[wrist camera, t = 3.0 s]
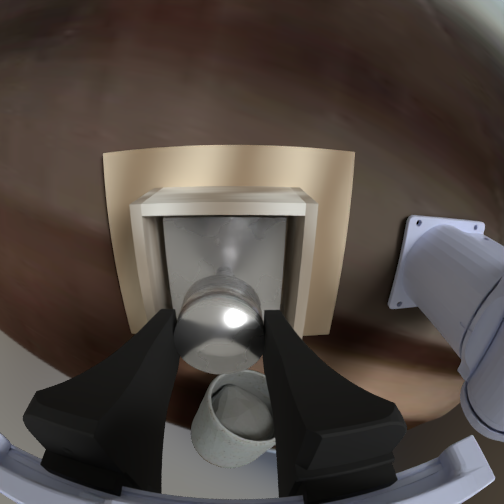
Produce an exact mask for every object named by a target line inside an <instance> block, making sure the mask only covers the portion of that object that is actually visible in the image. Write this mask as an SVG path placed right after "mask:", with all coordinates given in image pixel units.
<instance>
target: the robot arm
mask: <svg viewBox="0 0 504 504" xmlns="http://www.w3.org/2000/svg"><path fill="white" fill-rule="evenodd" d="M418 220H419V223H418V224H417V225H416V223H417V221H418ZM474 226H475V227H474ZM484 229H485V224H484V223H483V222H480V221H471V220H462V219H452V218H441V217H430V216H417V215H411V216H409V217H408V219H407V221H406V227H405V232H404V238H403V243H402V248H401V252H400V257H399V261H398V266H397V270H396V274H395V278H394V282H393V286H392V290H391V293H390V297H389V301H388V306H389V308H390V309H400V308H410V307H419V309H420V310H421V311H422V312H423V313H424V314H425V316H426V317H427V318H428V319H429V320H430V321H431V323H432V324H433V325H434V326H435V327H436V329H437V330H438V331H439V332H440V333H441V335H442V336H443V337H444V338H445V339H446V341H447V342H448V343H449V344H450V346H451V347H452V348H453V349H454V351H455V352H456V353H457V355H458V356H459V357H460V358H461V364H460V366H459V368H458V372H459V373H460V374H461V376H462V377H463V379H464V380H465V382H464V383H463V385H462V388H461V392H460V401H461V406H462V409H463V412H464V414H465V416H466V418H467V420H468V421H469V422H470V424H471V425H472V426H473V428H474V429H475V430H477V431H478V432H479V433H481V434H482V435H484V436H485V437H488V438H490V439H493V440H498V441H502V442H504V246H502V245H500V244H499V243H497V242H495V241H494V240H492V239H490V238H489V237H487V236H485V235H483V233H484ZM398 302H399V303H398ZM397 303H398V304H397ZM176 324H177V318H176V312H175V309H160V310H159V311H158V312H157V313H156V314H155V315H154V316H153V317H152V318H151V319H150V320H149V321H148V322H147V323H146V324H145V325H144V326H143V328H141V329H140V330H139V331H138V332H137V333H136V334H135V335H134V336H133V337H132V338H131V339H130V340H129V341H128V342H126V343H125V344H124V345H123V346H122V347H121V348H120V349H118V350H117V351H116V352H114V353H113V354H112V355H111V356H109V357H108V358H106V359H105V360H103V361H102V362H100V363H99V364H97V365H96V366H94V367H92V368H90V369H89V370H87V371H85V372H84V373H82V374H80V375H78V376H76V377H74V378H72V379H69V380H67V381H65V382H63V383H60V384H57V385H55V386H52V387H49V388H46V389H43V390H39V391H36V393H35V395H34V397H33V398H32V400H31V402H30V404H29V406H28V408H27V409H26V411H25V413H24V415H23V421H24V424H25V426H26V427H27V429H28V430H29V431H30V432H31V434H32V435H33V436H34V437H35V438H36V439H37V440H38V441H39V442H40V443H41V445H42V446H43V447H44V448H45V449H46V451H45V453H44V456H43V458H42V459H40V458H38V457H36V456H34V455H32V454H30V453H27V452H26V451H24V450H22V449H20V448H18V447H16V446H14V445H12V444H11V443H10V442H9V440H8V439H6V437H5V436H4V435H3V434H1V433H0V492H1V493H2V494H4V495H5V496H7V497H8V498H10V499H12V500H13V501H14V502H16V503H18V504H461V503H463V502H464V501H466V500H467V499H469V498H470V497H472V496H473V495H475V494H476V493H478V492H479V491H480V490H482V489H483V488H485V487H486V486H487V485H489V484H490V483H492V482H493V481H494V480H495V477H494V475H493V473H492V470H491V468H490V467H489V464H488V462H487V461H486V459H485V457H484V455H483V453H482V451H481V449H480V447H479V445H478V443H477V442H476V440H475V438H474V437H473V435H470V436H468V437H466V438H464V439H462V440H460V441H458V442H456V443H454V444H452V445H451V446H449V447H448V448H447V449H445V450H444V451H443V452H442V453H441V454H440V456H439V457H438V458H435V459H433V460H431V461H428V462H426V463H423V464H421V465H418V466H416V467H413V468H410V469H408V470H405V471H402V472H400V473H395V470H394V468H393V465H392V462H393V461H394V460H395V459H394V455H393V453H392V451H393V449H394V448H395V447H396V446H397V444H398V443H399V442H400V441H401V439H402V438H403V436H404V435H405V433H406V431H407V426H406V423H405V421H404V419H403V417H402V415H401V413H400V411H399V410H398V408H397V406H396V405H395V403H393V402H390V401H388V400H386V399H383V398H381V397H378V396H376V395H374V394H372V393H370V392H368V391H366V390H364V389H362V388H360V387H358V386H357V385H355V384H353V383H352V382H350V381H349V380H347V379H346V378H344V377H343V376H341V375H340V374H338V373H337V372H335V371H334V370H333V369H331V368H330V367H329V366H328V365H327V364H326V363H324V362H323V361H322V360H321V359H320V358H319V357H318V356H317V355H316V354H315V353H314V352H313V351H312V350H311V349H310V348H309V347H308V346H307V345H306V344H305V343H304V341H303V340H302V339H301V338H300V337H299V335H298V334H297V333H296V332H295V331H294V329H293V328H292V327H291V325H290V324H289V322H288V321H287V320H286V318H285V317H284V315H283V314H282V312H281V311H280V310H264V332H265V349H264V352H263V365H264V372H265V377H266V382H267V387H268V392H269V397H270V402H271V407H272V412H273V419H274V430H275V442H276V455H277V469H278V488H279V498H268V499H239V500H237V499H234V500H232V499H230V500H229V499H206V498H192V497H182V496H174V495H166V494H161V470H162V451H163V439H164V429H165V421H166V414H167V409H168V405H169V401H170V397H171V393H172V389H173V385H174V382H175V378H176V374H177V370H178V366H179V359H180V355H179V353H178V352H177V350H176V348H175V343H174V331H175V327H176Z"/></svg>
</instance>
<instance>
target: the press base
mask: <svg viewBox="0 0 504 504" xmlns="http://www.w3.org/2000/svg"><path fill="white" fill-rule="evenodd" d="M354 158H355V152H350V151H341V150H331V149H320V148H307V147H291V146H268V145H198V146H176V147H160V148H147V149H136V150H126V151H118V152H109V153H103V163H104V178H105V190H106V200H107V209H108V218H109V225H110V232H111V239H112V246H113V252H114V258H115V263H116V268H117V274H118V279H119V284H120V288H121V293H122V297H123V302H124V306H125V310H126V314H127V318H128V322H129V326H130V330H131V333H133V334H136V333H137V332H138V331H139V330H140V329H141V328H143V326H144V325H145V324H146V323H147V322H148V321H149V320H150V319H151V318H152V317H153V316H154V315H155V314H156V313H157V312H158V311H159V310H160V309H173V305H172V298H171V291H170V283H169V275H168V267H167V258H166V248H165V238H164V226H163V217H164V216H168V215H285V216H286V234H285V249H284V263H283V277H282V290H281V302H280V311H281V312H282V314H283V315H284V317H285V318H286V320H287V321H288V322H289V324H290V325H291V327H292V328H293V329H294V331H295V332H296V333H297V334H298V335H299V337H300V338H301V339H302V336H309V335H324V334H329V331H330V327H331V322H332V317H333V312H334V307H335V302H336V297H337V292H338V286H339V281H340V275H341V269H342V263H343V256H344V250H345V243H346V235H347V228H348V220H349V212H350V203H351V193H352V183H353V171H354ZM177 320H178V319H177ZM263 324H264V320H263Z"/></svg>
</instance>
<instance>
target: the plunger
mask: <svg viewBox="0 0 504 504" xmlns="http://www.w3.org/2000/svg"><path fill="white" fill-rule="evenodd" d="M163 226H164V238H165V248H166V258H167V267H168V275H169V283H170V291H171V298H172V305H173V309H175V312H176V318H177V319H178V320H177V324H176V327H175V331H174V343H175V348H176V350H177V352H178V353H179V355H180V356H181V357H182V359H183V360H184V361H186V362H187V363H188V364H189V365H191V366H192V367H194V368H196V369H198V370H201V371H204V372H207V373H211V374H233V373H237V372H241V371H243V370H245V369H248V368H249V367H251V366H252V365H254V364H255V363H256V362H257V361H258V360H259V359H260V357H261V356H262V354H263V352H264V349H265V332H264V324H263V320H264V310H280V302H281V290H282V277H283V263H284V249H285V234H286V216H285V215H168V216H164V217H163Z"/></svg>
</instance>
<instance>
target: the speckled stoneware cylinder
mask: <svg viewBox="0 0 504 504" xmlns="http://www.w3.org/2000/svg"><path fill="white" fill-rule="evenodd" d="M191 439H192V443H193V445H194V448H195V449H196V451H197V452H198V453H199V455H200V456H201V457H202V458H203V459H205V460H206V461H208V462H209V463H211V464H213V465H216V466H219V467H225V468H236V467H240V466H244V465H246V464H249V463H251V462H252V461H254V460H255V459H257V458H258V457H259V456H261V455H262V454H263V453H264V452H266V451H267V450H269V449H270V448H271V447H273V446H274V445H275V444H276V442H275V430H274V419H273V412H272V407H271V402H270V397H269V392H268V387H267V382H266V377H265V375H264V374H262V373H259V372H256V371H253V370H247V369H245V370H243V371H241V372H237V373H233V374H219V375H218V376H217V377H216V378H214V379H213V381H212V382H211V383H210V385H209V387H208V389H207V391H206V394H205V396H204V398H203V400H202V402H201V404H200V407H199V409H198V411H197V413H196V415H195V417H194V420H193V422H192V426H191Z"/></svg>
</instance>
